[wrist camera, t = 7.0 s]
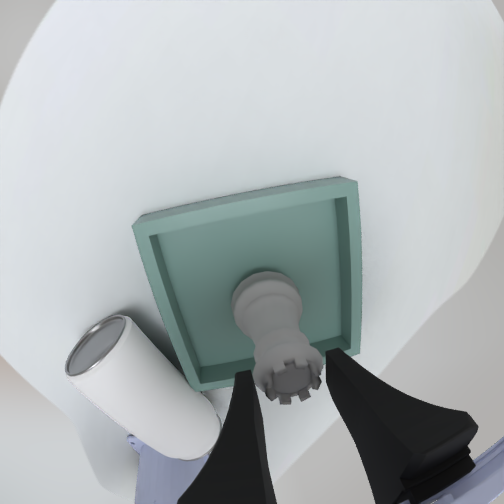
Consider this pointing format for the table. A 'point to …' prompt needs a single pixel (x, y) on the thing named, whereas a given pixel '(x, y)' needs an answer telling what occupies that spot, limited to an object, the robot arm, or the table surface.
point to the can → (142, 390)
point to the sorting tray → (254, 270)
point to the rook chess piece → (277, 336)
